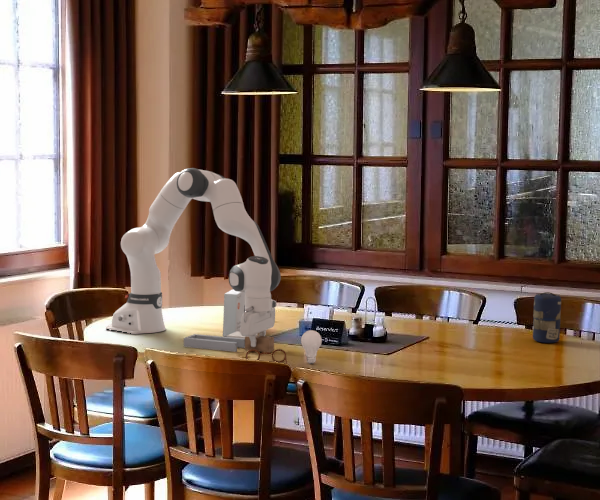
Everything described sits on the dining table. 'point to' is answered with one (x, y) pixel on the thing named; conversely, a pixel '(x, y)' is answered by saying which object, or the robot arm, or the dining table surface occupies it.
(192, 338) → the grey rectangular tray
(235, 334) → the ceramic pedestal
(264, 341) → the walnut blank
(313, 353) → the light bulb
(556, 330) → the canister
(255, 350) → the glasses
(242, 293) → the skincare box
